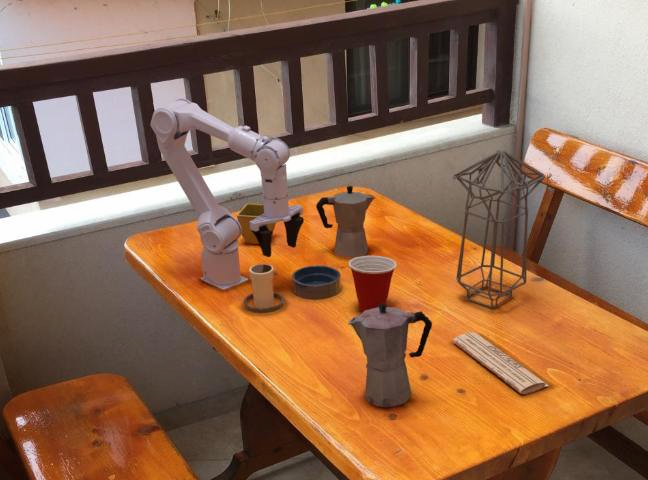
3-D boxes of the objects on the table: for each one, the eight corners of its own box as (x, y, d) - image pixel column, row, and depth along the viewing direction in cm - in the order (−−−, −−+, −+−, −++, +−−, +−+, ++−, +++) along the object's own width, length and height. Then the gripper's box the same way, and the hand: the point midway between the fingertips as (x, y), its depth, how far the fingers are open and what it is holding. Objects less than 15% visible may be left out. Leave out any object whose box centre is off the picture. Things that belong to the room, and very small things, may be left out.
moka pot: (348, 385, 171) (346, 294, 160) (425, 380, 172) (427, 289, 161) (352, 411, 163) (350, 317, 152) (433, 406, 164) (436, 313, 153)
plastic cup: (403, 304, 201) (404, 256, 195) (385, 324, 193) (385, 275, 186) (361, 296, 205) (360, 249, 198) (341, 315, 197) (340, 267, 190)
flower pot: (270, 248, 230) (267, 216, 225) (239, 246, 232) (236, 214, 227) (279, 236, 237) (277, 205, 233) (248, 234, 239) (246, 203, 234)
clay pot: (247, 304, 201) (244, 268, 197) (265, 296, 205) (263, 261, 200) (262, 311, 198) (259, 276, 193) (281, 303, 201) (278, 268, 196)
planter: (282, 290, 208) (281, 275, 206) (318, 276, 215) (317, 261, 213) (315, 305, 201) (314, 290, 199) (350, 290, 208) (350, 274, 206)
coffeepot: (371, 242, 232) (370, 177, 223) (379, 256, 224) (379, 189, 215) (315, 248, 230) (312, 183, 220) (321, 262, 222) (319, 195, 212)
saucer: (235, 306, 202) (235, 300, 201) (266, 293, 207) (266, 287, 206) (261, 318, 196) (260, 313, 195) (292, 305, 201) (292, 299, 201)
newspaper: (452, 344, 184) (453, 336, 183) (479, 336, 187) (480, 328, 186) (520, 396, 167) (521, 388, 166) (549, 386, 169) (550, 378, 168)
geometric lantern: (483, 278, 212) (493, 136, 193) (537, 298, 202) (552, 150, 184) (442, 299, 203) (448, 152, 184) (495, 320, 193) (508, 167, 175)
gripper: (261, 207, 189) (266, 265, 196) (310, 191, 197) (313, 246, 204) (241, 200, 193) (247, 256, 200) (290, 184, 201) (294, 238, 209)
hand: (279, 251), depth 203 cm, fingers open, 7 cm apart
